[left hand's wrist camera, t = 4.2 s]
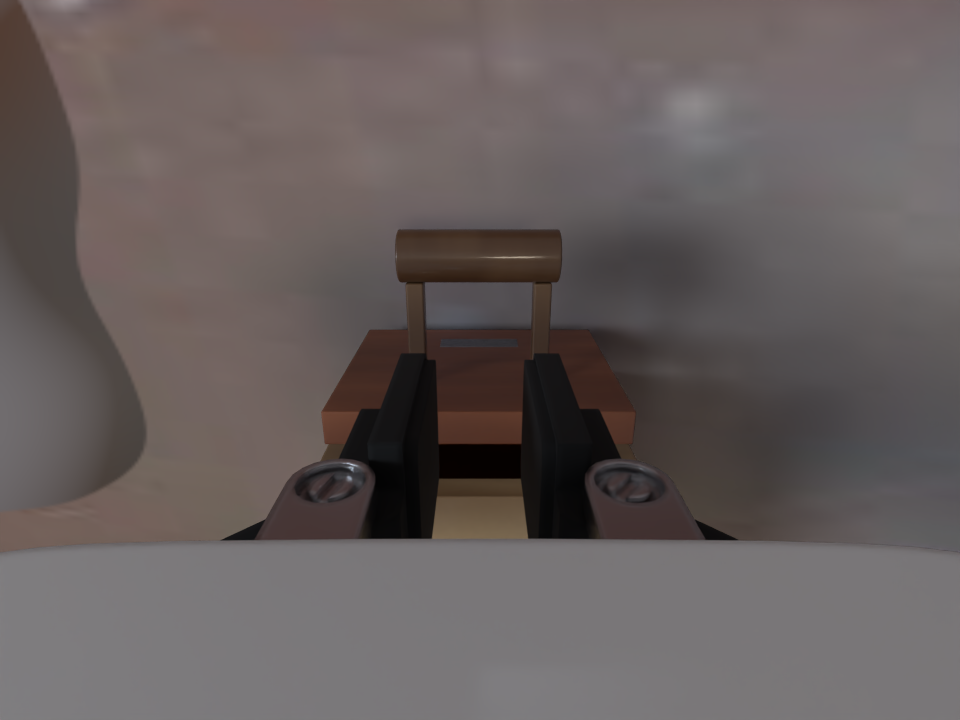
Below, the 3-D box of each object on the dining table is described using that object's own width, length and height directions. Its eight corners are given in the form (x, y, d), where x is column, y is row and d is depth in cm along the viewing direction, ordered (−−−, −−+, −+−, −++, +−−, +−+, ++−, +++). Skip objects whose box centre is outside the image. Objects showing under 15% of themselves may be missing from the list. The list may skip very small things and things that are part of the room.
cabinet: (364, 370, 27) (300, 497, 18) (593, 370, 27) (656, 496, 18) (390, 679, 35) (355, 886, 25) (568, 679, 35) (602, 886, 25)
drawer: (360, 209, 24) (300, 242, 16) (597, 209, 24) (656, 242, 16) (393, 648, 33) (366, 806, 25) (564, 648, 33) (591, 806, 25)
